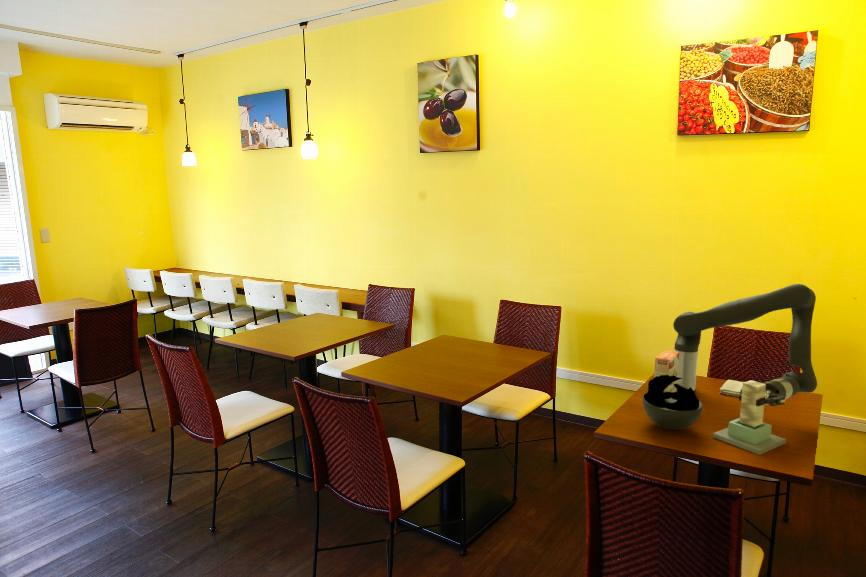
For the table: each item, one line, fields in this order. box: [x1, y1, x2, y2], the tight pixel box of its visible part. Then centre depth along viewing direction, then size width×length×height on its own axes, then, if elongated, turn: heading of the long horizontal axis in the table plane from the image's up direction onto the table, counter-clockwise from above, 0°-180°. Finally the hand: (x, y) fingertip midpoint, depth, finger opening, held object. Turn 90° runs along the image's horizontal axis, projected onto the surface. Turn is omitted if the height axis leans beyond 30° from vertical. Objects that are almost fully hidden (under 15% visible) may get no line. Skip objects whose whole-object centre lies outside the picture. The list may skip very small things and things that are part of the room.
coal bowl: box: [641, 375, 704, 431], centre depth 204 cm, size 20×20×19 cm
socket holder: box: [712, 417, 787, 456], centre depth 194 cm, size 16×16×6 cm
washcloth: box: [719, 379, 745, 398], centre depth 243 cm, size 12×18×3 cm, turn 144°
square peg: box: [739, 380, 766, 427], centre depth 192 cm, size 5×5×14 cm
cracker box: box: [653, 349, 680, 392], centre depth 225 cm, size 14×6×21 cm, turn 143°
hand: (748, 400), depth 191 cm, fingers closed on square peg, 5 cm apart
